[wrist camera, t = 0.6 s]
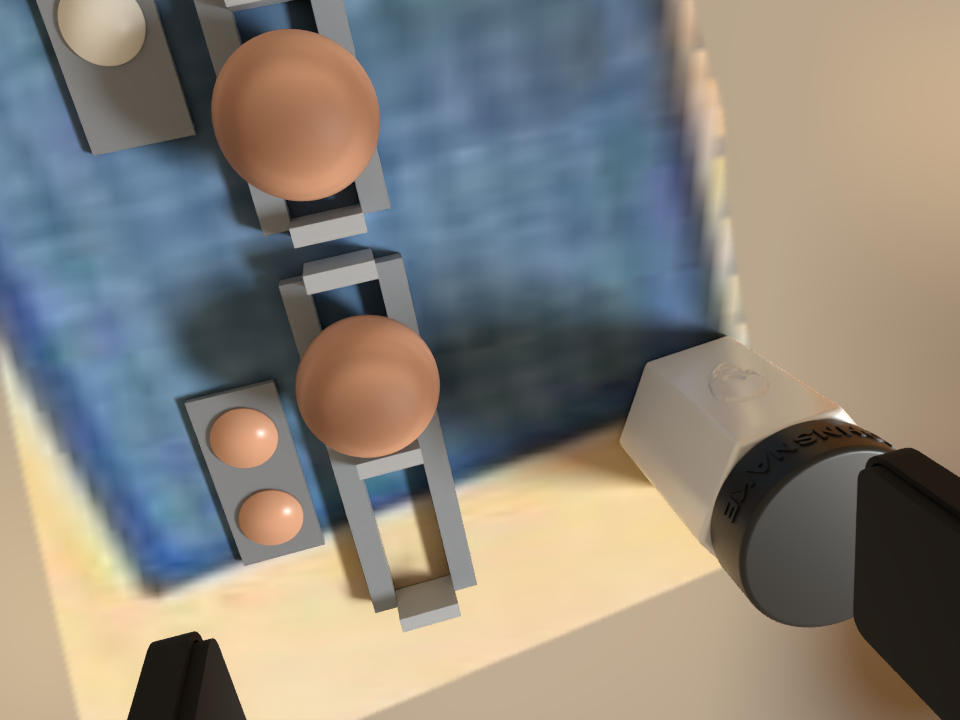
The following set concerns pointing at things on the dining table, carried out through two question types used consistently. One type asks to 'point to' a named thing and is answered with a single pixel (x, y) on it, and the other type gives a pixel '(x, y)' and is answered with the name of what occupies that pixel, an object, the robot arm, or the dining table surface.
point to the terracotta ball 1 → (295, 115)
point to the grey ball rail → (429, 449)
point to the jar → (756, 474)
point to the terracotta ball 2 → (367, 386)
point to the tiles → (156, 118)
